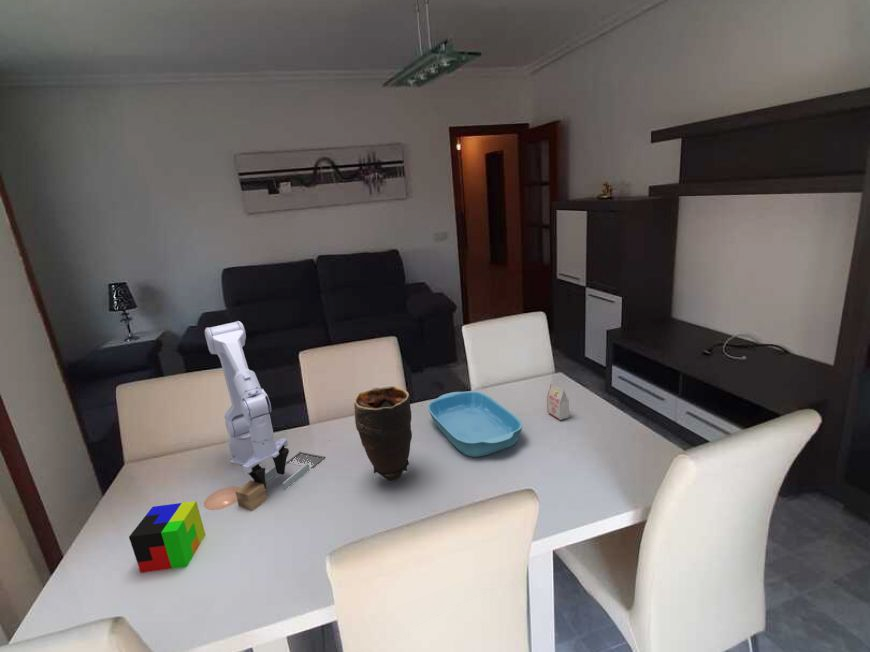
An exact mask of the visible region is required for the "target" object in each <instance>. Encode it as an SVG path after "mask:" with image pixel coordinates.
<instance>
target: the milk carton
mask: <svg viewBox="0 0 870 652" xmlns="http://www.w3.org/2000/svg"><path fill="white" fill-rule="evenodd" d="M546 402H547V403H546V405H547V406H546V409H547V411H546V412H547V413H548V414H550V415H551V416H553V417H554V418H556V419H558V420H559V421H561V420H565V419H568V418H570V400H569V398H568V396H567V394H566V392H565V389H562V388H561V387H559V386H557V385H556V384H554V383H550V386H549V388H548V392H547V394H546Z"/></svg>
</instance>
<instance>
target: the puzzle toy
mask: <svg viewBox="0 0 870 652" xmlns="http://www.w3.org/2000/svg"><path fill="white" fill-rule="evenodd" d="M197 502H198V501H197V500H193V501H186V502H179V503H177V502H176V503H171V504H163V505H155V506H152V507H151V508H150V509H149V511H148V512H147V513H146V514H145V516H144V517H143V518H142V519H141V520H140V522H139V523H138V524H137V526H136V527H135V529H133V531H132V533H130V535H129V536H128V539H129V542H130V545H131V547H132V551H133V553H134V557H135V560H136V562H137V566H138V569H139V573H148V572H156V571H163V570H164V571H165V570H171V569H178V568H184V567H188V566H189V564H190V563H191V561H192V559H193V557H194V555H195V554H196V552H197V550H198V549H199V547H200V545H201V543H202V542H203V540H204V538H205V537H206V532H205V528H204V525H203V520H202V516H201V513H200V510H199V506H198V503H197Z"/></svg>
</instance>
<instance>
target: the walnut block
mask: <svg viewBox="0 0 870 652" xmlns="http://www.w3.org/2000/svg"><path fill="white" fill-rule="evenodd" d="M235 492H236V496H237V504H238V507H240V508H243V509H246V510H249V511H251V512H253V511H254V510H255V509H257V508H258V507H260V505H262V504H263V503H264V502H266V501H267V500H268V497H267V493H266V489H265V487H264V484H262V483H258V482H255V481H254V480H248V481H247V482H246V483H244V485H242V486H240V488H239V489H238V490H236V491H235Z"/></svg>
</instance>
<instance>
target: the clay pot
mask: <svg viewBox="0 0 870 652" xmlns="http://www.w3.org/2000/svg"><path fill="white" fill-rule="evenodd" d="M353 400H354V401H353V403H354V420H355V422H354V424H355V429H356V430H357V432H358V435H359V437H360V438H359V439H360V442H361V445H362V447H363V448H364V450H365V454H366V456H367V458H368V460H369V462H370V463H371V465H372V467H373V473H374V474H375V473H377V474H379V475H380V476H381V477H382V478H384V479H385V480H386V481H387V482H394V481H396V480H398V479H399V478H400V477H401V475H403V473H404V472H408V466H409V464H410V462H409V457H410V451H411V442H412V437H413V431H412V409H411V401H410V400H411V399H410V394H409V392H408V391H407V390H406V389H404V388H403V387H399V386H396V385H395V384H388V385H387V384H386V385H380V386H379V385H378V386H375V387H372V388H368V389H364V390H361V391H359V393H357V395H356V396H355V397H354V399H353Z"/></svg>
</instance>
